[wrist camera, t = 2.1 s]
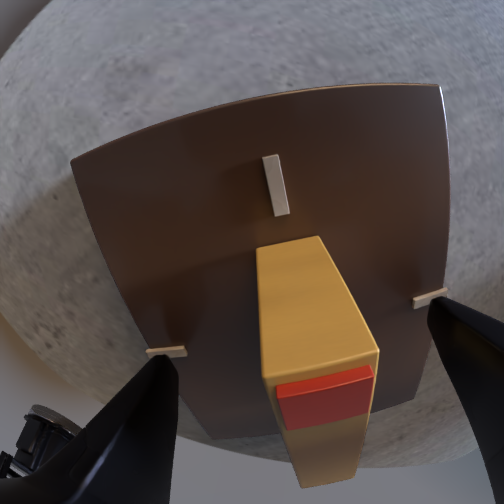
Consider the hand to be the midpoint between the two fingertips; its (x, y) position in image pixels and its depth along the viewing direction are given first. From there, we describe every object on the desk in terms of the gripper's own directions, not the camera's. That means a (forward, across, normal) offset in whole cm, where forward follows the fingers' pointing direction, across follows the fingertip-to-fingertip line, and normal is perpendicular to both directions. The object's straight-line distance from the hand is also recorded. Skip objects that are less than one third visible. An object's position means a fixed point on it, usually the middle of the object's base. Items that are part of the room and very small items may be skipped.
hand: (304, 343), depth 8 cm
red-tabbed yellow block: (+1, 0, 0) cm, 1 cm away
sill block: (+4, 0, 0) cm, 4 cm away
